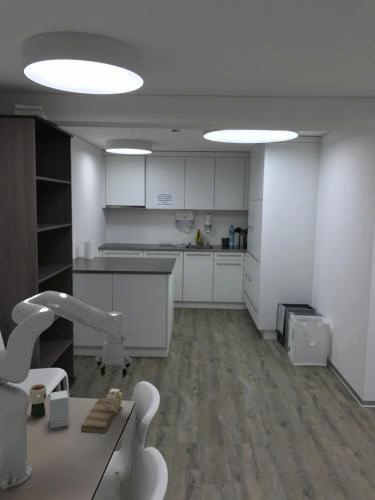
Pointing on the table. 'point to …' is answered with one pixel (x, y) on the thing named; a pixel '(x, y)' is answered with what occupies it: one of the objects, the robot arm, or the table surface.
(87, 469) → the table surface
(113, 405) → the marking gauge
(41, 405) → the character mug
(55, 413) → the supplement box
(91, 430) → the walnut board
